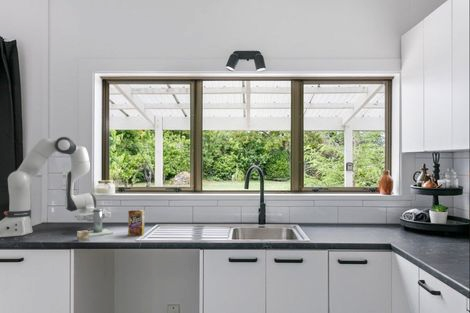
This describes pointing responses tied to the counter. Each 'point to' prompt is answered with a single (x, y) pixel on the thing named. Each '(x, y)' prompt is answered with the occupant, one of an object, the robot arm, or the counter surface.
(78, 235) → the maple cube
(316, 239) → the counter surface
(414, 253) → the counter surface
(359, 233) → the counter surface
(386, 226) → the counter surface
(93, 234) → the pad
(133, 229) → the candy box
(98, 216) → the tin
